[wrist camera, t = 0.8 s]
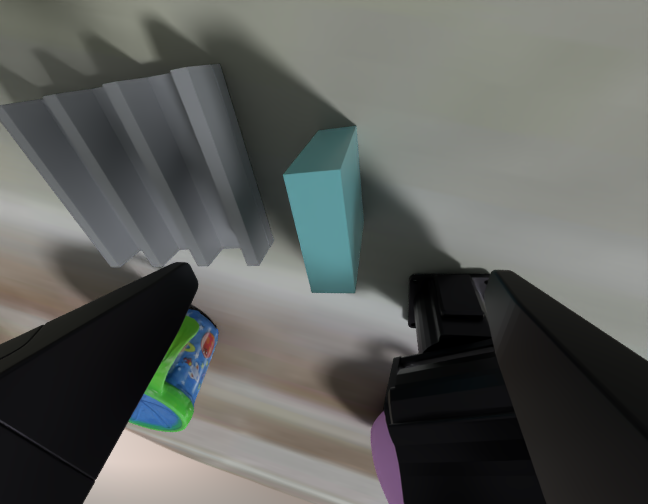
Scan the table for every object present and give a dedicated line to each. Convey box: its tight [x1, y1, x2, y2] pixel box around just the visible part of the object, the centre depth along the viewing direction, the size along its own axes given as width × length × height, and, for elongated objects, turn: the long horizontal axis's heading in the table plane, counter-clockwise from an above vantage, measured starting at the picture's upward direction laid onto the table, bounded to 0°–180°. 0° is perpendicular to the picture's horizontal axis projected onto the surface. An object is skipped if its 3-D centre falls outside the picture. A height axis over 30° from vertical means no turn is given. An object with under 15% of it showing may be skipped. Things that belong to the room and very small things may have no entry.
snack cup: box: [128, 309, 219, 432], centre depth 30 cm, size 16×10×10 cm
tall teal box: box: [283, 126, 364, 293], centre depth 17 cm, size 7×2×8 cm, turn 9°
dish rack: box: [0, 64, 274, 267], centre depth 21 cm, size 13×15×4 cm
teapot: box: [371, 411, 404, 504], centre depth 32 cm, size 22×22×14 cm
